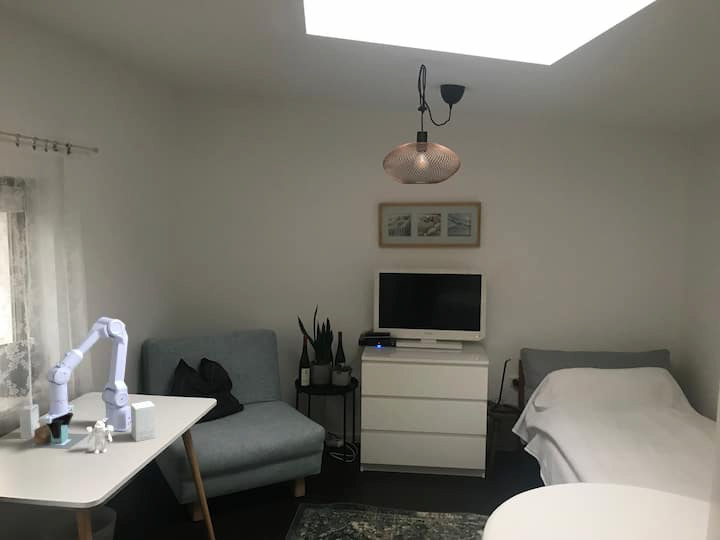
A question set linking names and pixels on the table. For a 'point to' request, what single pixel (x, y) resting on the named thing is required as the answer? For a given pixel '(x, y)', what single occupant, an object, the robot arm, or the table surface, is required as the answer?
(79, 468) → the table surface
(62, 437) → the teal block
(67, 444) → the baseplate
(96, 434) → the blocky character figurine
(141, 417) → the supplement box
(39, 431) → the walnut blocks
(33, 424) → the skincare box
